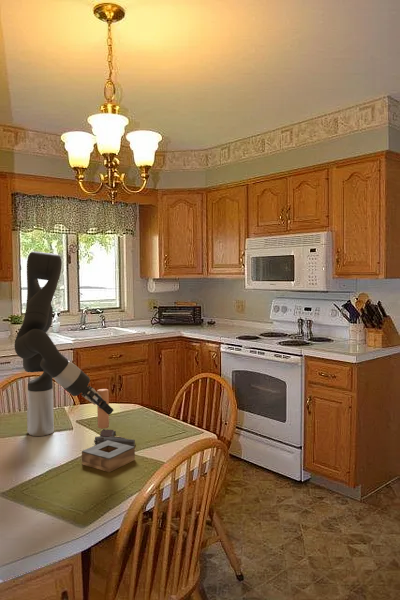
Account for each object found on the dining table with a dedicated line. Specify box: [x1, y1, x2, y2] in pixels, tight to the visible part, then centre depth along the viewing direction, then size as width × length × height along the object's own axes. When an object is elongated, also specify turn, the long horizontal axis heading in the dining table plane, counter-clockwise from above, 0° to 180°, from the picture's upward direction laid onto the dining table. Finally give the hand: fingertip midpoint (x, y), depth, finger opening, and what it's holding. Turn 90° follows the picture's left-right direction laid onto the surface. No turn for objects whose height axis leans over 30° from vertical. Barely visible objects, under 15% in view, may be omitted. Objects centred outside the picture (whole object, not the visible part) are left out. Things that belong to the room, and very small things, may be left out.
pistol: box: [93, 428, 136, 447], centre depth 179 cm, size 3×15×12 cm
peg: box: [96, 388, 110, 430], centre depth 157 cm, size 4×4×12 cm
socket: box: [81, 440, 136, 473], centre depth 159 cm, size 12×12×4 cm
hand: (109, 410), depth 159 cm, fingers closed on peg, 3 cm apart
